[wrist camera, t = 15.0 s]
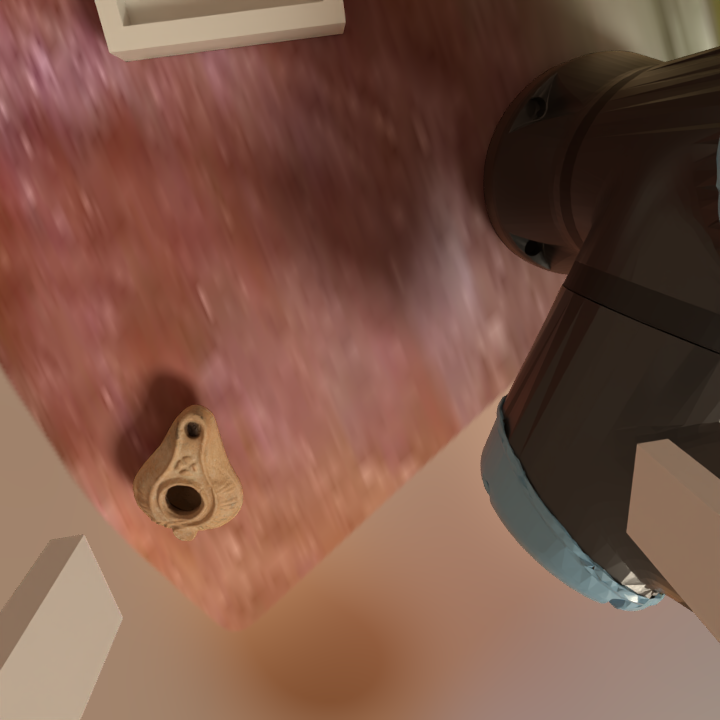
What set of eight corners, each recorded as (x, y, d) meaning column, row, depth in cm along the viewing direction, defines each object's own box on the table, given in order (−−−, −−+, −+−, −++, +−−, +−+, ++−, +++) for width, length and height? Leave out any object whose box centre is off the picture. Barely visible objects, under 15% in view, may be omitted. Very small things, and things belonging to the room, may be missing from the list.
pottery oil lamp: (253, 397, 41) (268, 468, 37) (225, 473, 48) (234, 539, 44) (142, 396, 37) (144, 476, 32) (129, 479, 44) (129, 553, 40)
